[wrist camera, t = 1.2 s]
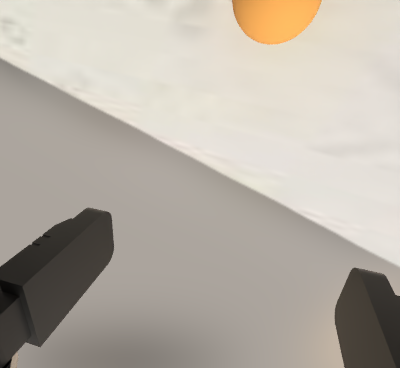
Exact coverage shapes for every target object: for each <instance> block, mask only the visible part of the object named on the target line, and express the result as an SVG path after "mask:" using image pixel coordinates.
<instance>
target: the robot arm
mask: <svg viewBox="0 0 400 368" xmlns="http://www.w3.org/2000/svg"><path fill="white" fill-rule="evenodd" d="M113 251H114V241H113V229H112V218H111V214H110V213H109V212H106V211H101V210H97V209H93V208H86V209H85V210H83V211H82V212H81V213H80V214H78V215H77V216H76V217H75V218H73V219H68V220H66V221H63V222H61V223H59V224H57V225H55V226H53V227H52V228H51V229H49V230H48V231H47V232H45V233H44V234H43V236H42V237H39V238H38V239H36V240H35V241H34V242H33V243H32V245H28V246H27V247H26V248H24V249H23V250H22V251H21V252H19V253H18V254H17V255H15V256H14V257H13V258H11V259H10V260H9V261H8V262H6V263H5V264H4V265H2V266H1V267H0V368H17V362H18V352H17V351H18V350H19V349H20V348H21V347H22V346H23V344H24V343H25V342H27V343H30V344H32V345H36V346H38V347H41V346H42V344H43V343H44V342H45V341H46V340H47V338H48V337H49V336H50V335H51V333H52V332H53V331H54V330H55V329H56V327H57V326H58V325H59V324H60V322H61V321H62V320H63V319H64V317H65V316H66V315H67V314H68V313H69V311H70V310H71V309H72V308H73V306H74V305H75V304H76V303H77V301H78V300H79V299H80V298H81V297H82V295H83V294H84V293H85V292H86V290H87V289H88V288H89V287H90V285H91V284H92V283H93V282H94V281H95V279H96V278H97V277H98V276H99V274H100V273H101V272H102V271H103V270H104V268H105V267H106V266H107V265H108V263H109V262H110V260H111V258H112V255H113ZM335 325H336V329H337V334H338V339H339V343H340V348H341V353H342V357H343V362H344V367H345V368H400V296H397V295H395V293H394V291H393V289H392V287H391V285H390V283H389V281H388V279H387V278H386V276H385V275H384V274H382V273H377V272H373V271H368V270H364V269H359V268H353V269H352V270H351V272H350V274H349V276H348V279H347V281H346V283H345V285H344V288H343V290H342V292H341V294H340V297H339V299H338V301H337V304H336V308H335Z"/></svg>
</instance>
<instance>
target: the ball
mask: <svg viewBox="0 0 400 368" xmlns="http://www.w3.org/2000/svg"><path fill="white" fill-rule="evenodd" d="M232 2H233V10H234V14H235V18H236V20H237V22H238V24H239V26H240V27H241V29H242V30H243V32H244V33H245V34H246V35H247V36H248V37H250V38H251V39H253V40H255V41H257V42H259V43H263V44H280V43H283V42H286V41H288V40H291V39H292V38H294V37H296V36H297V35H299V34H300V33H301V32H302V31H303V30H304V29H305V28H306V27H307V26H308V25H309V24H310V23H311V21H312V20H313V18H314V17H315V15H316V13H317V11H318V9H319V6H320V4H321V0H232Z"/></svg>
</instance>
